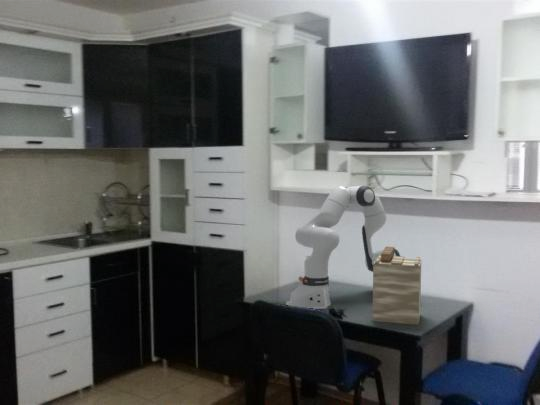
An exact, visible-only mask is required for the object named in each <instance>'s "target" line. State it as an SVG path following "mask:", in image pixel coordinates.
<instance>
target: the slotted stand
mask: <svg viewBox="0 0 540 405" xmlns="http://www.w3.org/2000/svg"><path fill="white" fill-rule="evenodd" d="M421 287H422V259H421V258H420V257H419V256H417V257H415V258H405V256H402V255H400V256H394V258H392V260H391V262H390V263H385V262H381V255H379V256H378V257H377V259H376V260H375V262H374V263H373V272H372V316H371V317H372V322H380V323H381V322H383V323H395V324H404V325H405V324H406V325H407V324H408V325H414V326H415V325H416V326H417V325H418V326H419V324H420V318H421V301H422V300H421V297H422V296H421V294H422V293H421V291H422V290H421V289H422V288H421Z"/></svg>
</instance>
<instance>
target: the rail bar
mask: <svg viewBox="0 0 540 405" xmlns="http://www.w3.org/2000/svg"><path fill="white" fill-rule="evenodd" d="M394 248H395V246H385V247H384V249H383V252H382V253H381V262H385V263H390V262H391V260H392V258H393V257H394Z"/></svg>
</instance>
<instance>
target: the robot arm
mask: <svg viewBox="0 0 540 405" xmlns="http://www.w3.org/2000/svg"><path fill="white" fill-rule="evenodd" d="M375 193H376V192H375V191H374V190H373V188H372V187H370V186H367V185H352V186H335V187H334V189H333V190H331V191H330V193H329V194H328V196H327V197H326V199H325V201H324V202H323V204H322V206H321V207H320V209H319V210H318V212H317V213H316V215H314V216H313V217H312V218H311V219H310V220H309V221H307V223H305V224H303V225H301V226H299V227H298V228H297V229H296V231H295V235H294V237H295V240H296V242H297V244H299V245H301V246H303V247H306V248H309V249H312V253H311V255H310V256H311V257H309V258H308V259H307V260H306V259H305V260H306V275H305V277H302V276H299V277H298V279H297V280H298V281H300V282H302V283H301V284H300V285H299V286H298V287H296V288H295V289H294V290H293V291H291V294H290V298H289V300H287V301H286V302H285V306H286V305H291V306H299V307H307V308H313V309H312V310H325V309H328V307H330V306H331V305H332V302H331V300H330V294H329V292H330V291H329V286H330V284H329V283H330V282H329V281H330V280H329V260H330V256H331V254H332V252H333V251H334V250H335V249H336V248H337V247H338V246H339V243H340V235H339V232H338V231H336V230H334V229H332V227H335V226H337V224H338V223H339V222H340V220H341V219H342V216H343V214H344V213H345V212H346V209H347V208H361V211H362V214H363V217H364V224H363V225H362V226H361V235H362V243H363V250H364V255H365V257H364V258H365V259H364V260H365V261H364V262H365V263H364V264H365V266H366V268H367V270H368V271H370V272H372V273H373V263H374V262H375V260H376V259H377V257H378V256H379V255H381V253H382V252H383V250H384V249H383V250H382V249H381V250H378V251H376V252H373V246H372V240H371V239H372V237H373V236H374V234H375V233H377V232H378V231H379V230H381V228H383V227H384V225H385V224H386V221H387V215H386V211H385V207H384V205H383V203H382V201H381V198H380V197H379V196H378V197H375ZM394 256H401V254H400V252H399V251H398V249H396V248H395V247H394ZM393 258H394V257H393Z"/></svg>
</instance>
